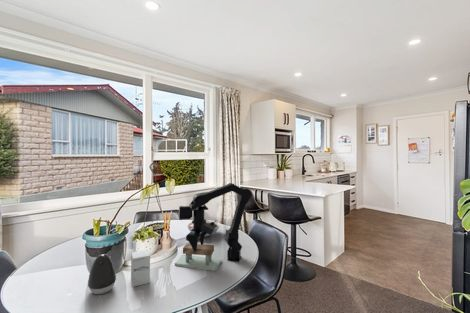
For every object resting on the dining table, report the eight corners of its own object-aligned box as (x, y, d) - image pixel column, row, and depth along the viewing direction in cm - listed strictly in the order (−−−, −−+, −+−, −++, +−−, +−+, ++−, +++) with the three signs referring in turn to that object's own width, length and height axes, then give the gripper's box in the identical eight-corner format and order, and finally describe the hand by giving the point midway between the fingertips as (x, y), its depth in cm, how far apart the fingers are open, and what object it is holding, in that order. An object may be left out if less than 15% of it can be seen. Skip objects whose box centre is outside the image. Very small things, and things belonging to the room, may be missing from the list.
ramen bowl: (193, 228, 177) (193, 217, 177) (223, 230, 174) (223, 219, 173) (181, 241, 152) (181, 228, 152) (215, 243, 149) (215, 230, 149)
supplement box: (132, 287, 100) (132, 258, 100) (130, 279, 107) (130, 251, 106) (150, 283, 103) (150, 255, 103) (148, 275, 110) (148, 248, 110)
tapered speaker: (85, 301, 91) (85, 262, 91) (90, 286, 100) (90, 251, 100) (115, 294, 95) (115, 258, 95) (116, 281, 105) (116, 248, 104)
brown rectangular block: (182, 253, 120) (182, 247, 120) (186, 248, 126) (186, 243, 126) (211, 255, 118) (211, 249, 118) (214, 250, 124) (214, 245, 124)
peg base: (221, 261, 124) (221, 250, 124) (215, 270, 115) (215, 258, 115) (183, 256, 129) (183, 246, 129) (174, 265, 120) (174, 253, 120)
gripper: (207, 225, 111) (207, 257, 111) (218, 214, 129) (218, 242, 129) (185, 223, 113) (185, 255, 114) (200, 213, 131) (199, 240, 132)
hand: (198, 247), depth 122 cm, fingers open, 9 cm apart
